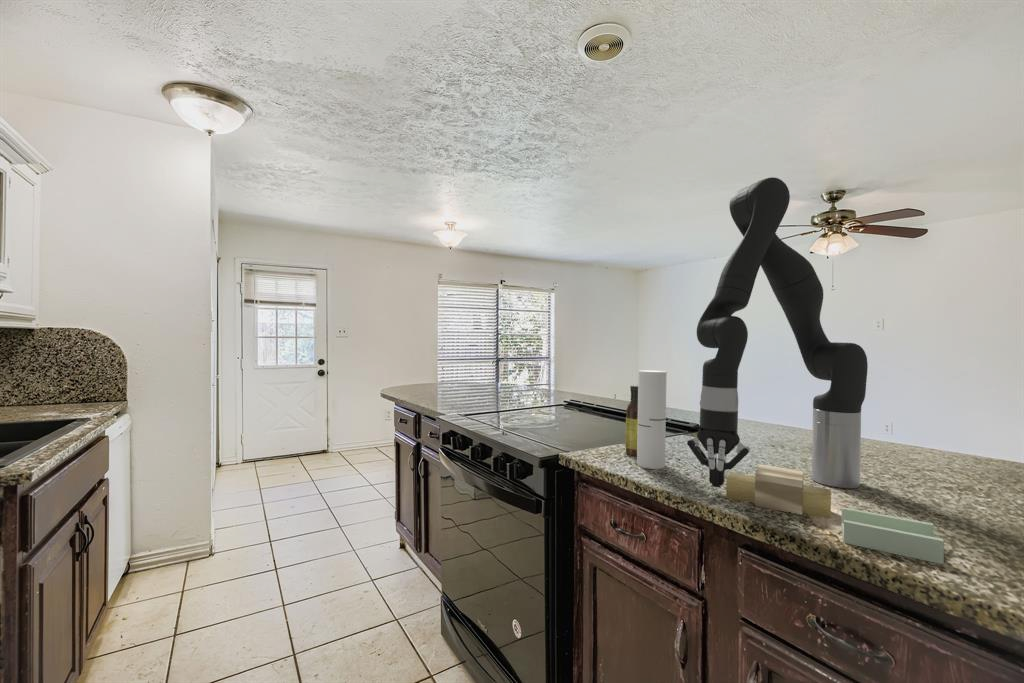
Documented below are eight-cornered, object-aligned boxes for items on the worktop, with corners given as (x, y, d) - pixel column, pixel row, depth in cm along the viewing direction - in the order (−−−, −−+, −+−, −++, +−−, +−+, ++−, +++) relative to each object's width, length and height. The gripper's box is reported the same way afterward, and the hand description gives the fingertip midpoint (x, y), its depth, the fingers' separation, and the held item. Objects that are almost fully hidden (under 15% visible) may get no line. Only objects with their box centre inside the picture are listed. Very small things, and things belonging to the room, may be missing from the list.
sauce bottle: (643, 458, 125) (645, 387, 125) (622, 454, 128) (623, 386, 128) (650, 453, 130) (651, 385, 130) (629, 450, 133) (630, 384, 133)
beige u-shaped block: (758, 494, 96) (759, 464, 96) (802, 502, 91) (803, 470, 91) (754, 505, 89) (755, 473, 89) (801, 514, 85) (802, 480, 85)
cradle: (841, 526, 80) (841, 507, 80) (932, 544, 73) (932, 523, 73) (843, 542, 73) (844, 521, 73) (943, 564, 66) (944, 541, 66)
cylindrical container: (666, 469, 113) (668, 372, 113) (638, 467, 115) (639, 371, 115) (663, 462, 120) (664, 370, 120) (635, 460, 122) (637, 369, 122)
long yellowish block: (729, 492, 98) (730, 472, 98) (830, 512, 87) (830, 489, 87) (726, 498, 94) (726, 477, 94) (830, 519, 83) (831, 495, 83)
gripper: (755, 408, 96) (752, 488, 96) (691, 402, 104) (689, 476, 104) (750, 412, 90) (748, 497, 90) (683, 405, 98) (680, 484, 98)
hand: (716, 486), depth 97 cm, fingers closed
